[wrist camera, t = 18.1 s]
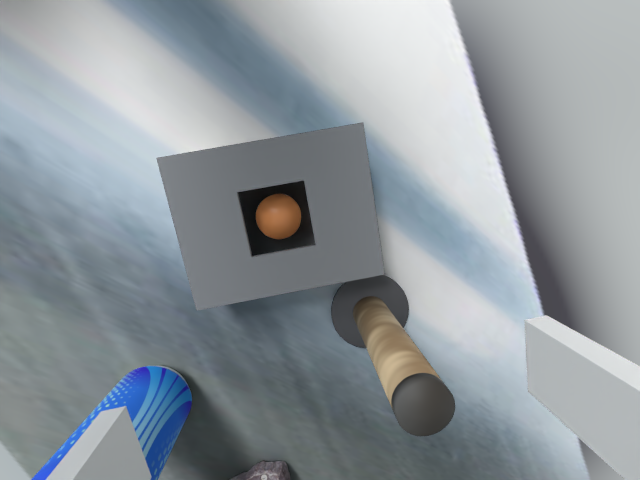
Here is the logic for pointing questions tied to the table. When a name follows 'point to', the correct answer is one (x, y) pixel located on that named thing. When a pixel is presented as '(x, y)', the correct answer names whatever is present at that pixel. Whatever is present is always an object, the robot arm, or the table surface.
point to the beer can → (142, 414)
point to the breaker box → (264, 171)
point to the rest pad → (360, 289)
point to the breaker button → (278, 216)
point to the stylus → (403, 371)
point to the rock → (266, 472)
